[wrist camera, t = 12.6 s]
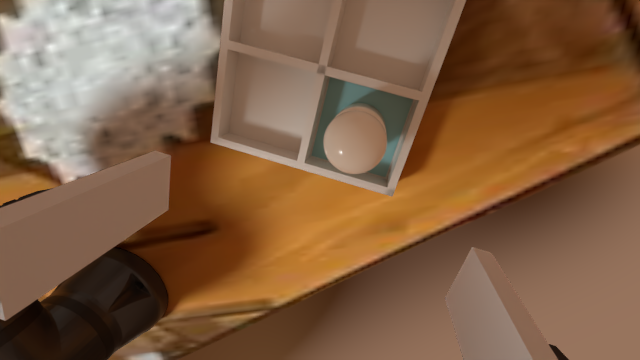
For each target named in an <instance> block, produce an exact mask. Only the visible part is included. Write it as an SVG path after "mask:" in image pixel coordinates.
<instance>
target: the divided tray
mask: <svg viewBox="0 0 640 360" xmlns="http://www.w3.org/2000/svg"><path fill="white" fill-rule="evenodd" d="M465 2H466V0H225V1H224V11H223V21H222V31H221V42H220V52H219V62H218V72H217V82H216V92H215V102H214V113H213V123H212V133H211V143H214V144H217V145H221V146H224V147H227V148H231V149H234V150H237V151H241V152H244V153H248V154H251V155H254V156H258V157H261V158H264V159H268V160H271V161H274V162H278V163H281V164H285V165H288V166H291V167H295V168H298V169H301V170H305V171H308V172H311V173H315V174H318V175H321V176H325V177H328V178H332V179H335V180H338V181H342V182H345V183H348V184H352V185H355V186H358V187H362V188H365V189H369V190H372V191H375V192H379V193H382V194H385V195H389V196H393V194H394V191H395V188H396V186H397V183H398V180H399V178H400V175H401V172H402V170H403V167H404V164H405V162H406V159H407V156H408V154H409V151H410V148H411V146H412V143H413V140H414V138H415V135H416V132H417V130H418V127H419V124H420V122H421V119H422V117H423V114H424V111H425V109H426V106H427V103H428V101H429V98H430V95H431V93H432V90H433V87H434V85H435V82H436V79H437V77H438V74H439V71H440V69H441V66H442V63H443V61H444V58H445V55H446V53H447V50H448V47H449V45H450V42H451V40H452V37H453V34H454V32H455V29H456V26H457V24H458V21H459V18H460V16H461V13H462V10H463V8H464V5H465ZM354 103H366V104H369V105H371V106H373V107H375V108H376V109H377V110H378V111H379V112H380V113H381V114H382V116H383V118H384V121H385V125H386V134H387V148H386V152H385V154H384V157H383V158H382V160H381V161H380V162H379V164H378V165H377V166H375V167H374V168H373V169H371V170H369V171H367V172H364V173H360V174H349V173H345V172H342V171H340V170H339V169H337V168H336V167H334V166H333V165H332V164H331V163H330V161H329V160H328V158H327V156H326V154H325V151H324V144H323V140H324V134H325V131H326V129H327V127H328V125H329V124H330V122H331V121H332V120H333V119H334V118H335V117H336V116H337V115H338V113H339V112H340V111H341V110H342V109H343V108H345V107H346V106H348V105H351V104H354Z"/></svg>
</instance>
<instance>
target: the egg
mask: <svg viewBox="0 0 640 360" xmlns="http://www.w3.org/2000/svg"><path fill="white" fill-rule="evenodd" d="M323 144H324V151H325V154H326V156H327V158H328V160H329V161H330V163H331V164H332V165H333V166H334V167H336V168H337V169H339V170H340V171H342V172H345V173H349V174H360V173H364V172H367V171H369V170H371V169H373V168H374V167H375V166H377V165H378V164H379V162H380V161H381V160H382V158H383V157H384V154H385V152H386V148H387V134H386V125H385V121H384V118H383V116H382V114H381V113H380V112H379V111H378V110H377V109H376V108H375V107H373V106H371V105H369V104H366V103H354V104H351V105H348V106H346V107H345V108H343V109H342V110H341V111H340V112H339V113H338V115H337V116H336V117H335V118H334V119H333V120H332V121H331V122H330V124H329V125H328V127H327V129H326V131H325V134H324V140H323Z"/></svg>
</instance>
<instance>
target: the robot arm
mask: <svg viewBox="0 0 640 360" xmlns="http://www.w3.org/2000/svg"><path fill="white" fill-rule="evenodd" d="M170 167H171V155H168V154H165V153H161V152H158V151H152V152H150V153H147V154H144V155H142V156H139V157H136V158H134V159H131V160H128V161H125V162H123V163H120V164H117V165H115V166H112V167H109V168H107V169H104V170H101V171H99V172H96V173H93V174H90V175H88V176H85V177H82V178H80V179H77V180H74V181H72V182H69V183H66V184H64V185H61V186H58V187H56V188H52V189H47V190H41V191H37V192H34V193H31V194H28V195H26V196H23V197H20V198H19V199H18V200H12V201H9V202H6V203H4V204H3V205H2V206H0V360H107V359H108V358H109V357H110V356H111V355H112V354H113V353H114V352H115V351H117V350H118V349H120V348H121V347H123V346H124V345H126V344H128V343H129V342H131V341H132V340H134V339H135V338H137V337H138V336H140V335H141V334H143V333H144V332H146V331H148V330H149V329H151V328H152V327H153V326H154V325H155V324H156V323H157V322H158V321H159V320H160V318H161V317H162V316H163V315H164V313H165V312H166V309H167V305H168V297H167V292H166V289H165V286H164V284H163V282H162V280H161V279H160V277H159V276H158V274H157V273H156V272H155V271H154V270H153V268H152V267H151V266H150V265H148V264H147V263H146V262H145V261H144V260H142V259H141V258H139V257H138V256H136V255H134V254H132V253H130V252H128V251H125V250H122V249H118V248H113V247H115V246H116V245H118V244H119V243H121V242H122V241H124V240H125V239H126V238H128V237H129V236H131V235H132V234H134V233H135V232H137V231H138V230H140V229H141V228H143V227H144V226H146V225H147V224H148V223H150V222H151V221H153V220H154V219H156V218H157V217H159V216H160V215H162V214H163V213H165V212H166V211H168V208H169V188H170ZM57 285H58V286H57ZM56 286H57V288H56V289H55V290H54V291H53V292H52V294H51V295H50V296H48V297H47V298H46V299H44V300H43V301H41V302H39V301H38V298H40V297H41V296H43V295H44V294H46V293H47V292H49V291H50V290H52V289H53V288H55V287H56ZM445 300H446V303H447V306H448V310H449V313H450V316H451V319H452V323H453V326H454V330H455V333H456V336H457V340H458V343H459V347H460V350H461V353H462V357H463V360H568V358H567V357H566V356H565V355H563V353H562V352H561V351H560V350H559V349H558V348H557V347H556V346H553V345H550V344H548V343H547V341H546V339H545V338H544V336H543V335H542V333H541V332H540V330H539V328H538V327H537V325H536V324H535V322H534V320H533V319H532V317H531V315H530V314H529V312H528V311H527V309H526V307H525V306H524V304H523V303H522V301H521V299H520V298H519V296H518V294H517V293H516V292H515V290H514V288H513V286H512V285H511V284H510V282H509V280H508V279H507V277H506V275H505V274H504V272H503V270H502V269H501V267H500V266H499V264H498V262H497V261H496V259H495V258H494V256H493V254H492V253H491V252H487V251H484V250H481V249H477V248H474V247H472V249H471V251H470V252H469V254H468V256H467V258H466V260H465V262H464V264H463V265H462V267H461V269H460V271H459V273H458V275H457V277H456V278H455V280H454V282H453V284H452V286H451V288H450V290H449V292H448V293H447V295H446V297H445Z"/></svg>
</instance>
